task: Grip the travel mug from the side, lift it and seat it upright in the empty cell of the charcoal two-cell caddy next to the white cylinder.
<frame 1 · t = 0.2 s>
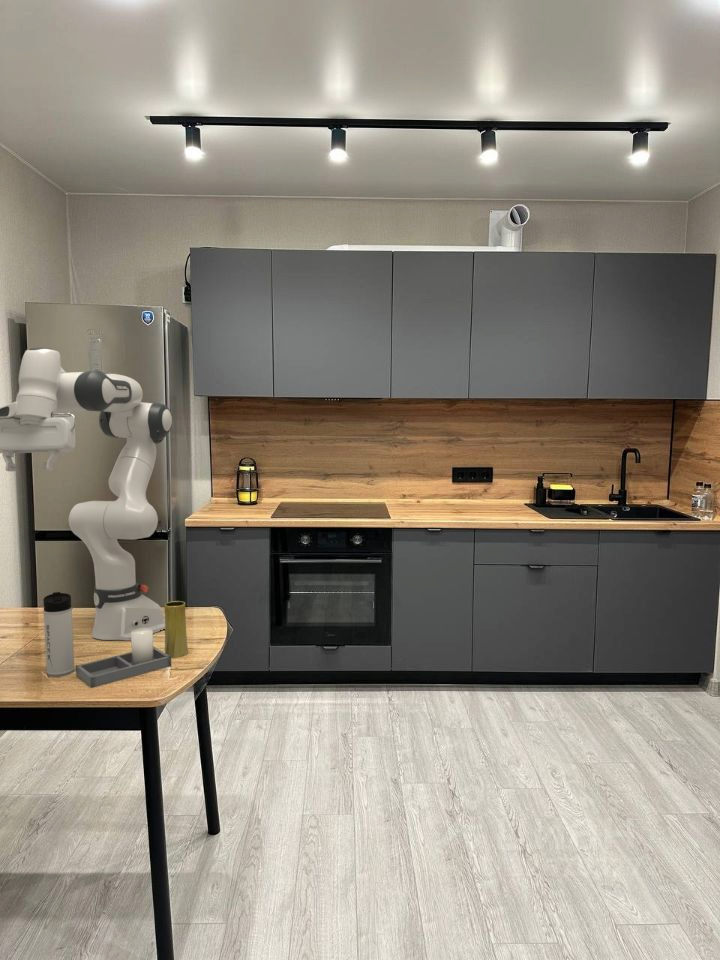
hand: (29, 470, 154), 51 cm above the table, tool tilted 15°, fingers open, 8 cm apart
white cylinder: (143, 665, 169), point 1 cm above the table, touching caddy
caddy: (124, 672, 166), on the table
vase: (176, 656, 177), on the table
travel mug: (60, 674, 165), on the table
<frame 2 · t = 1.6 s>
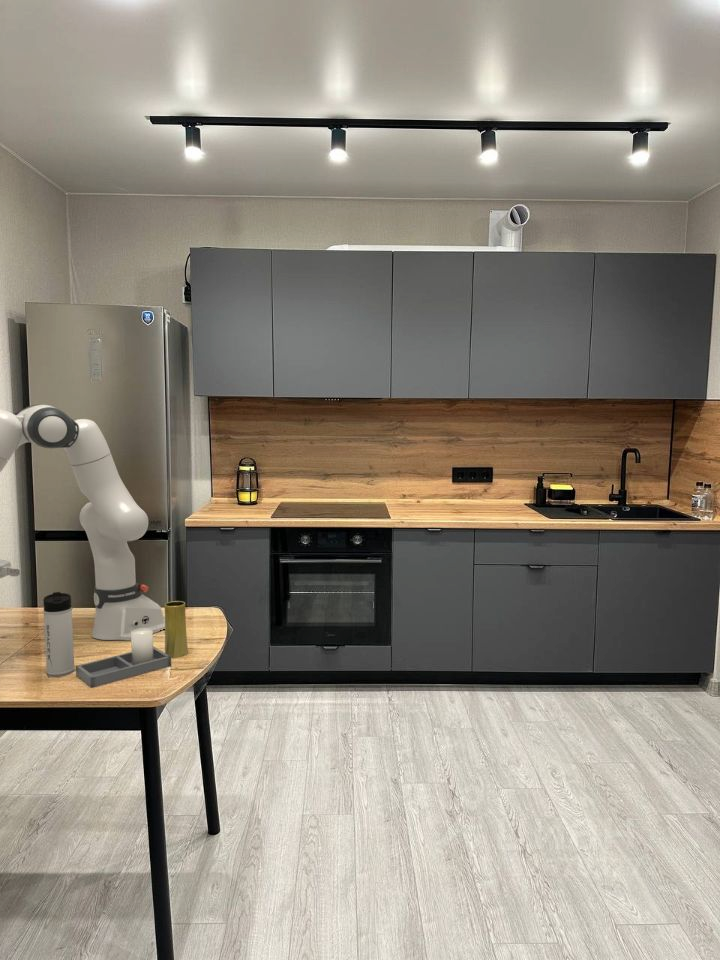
hand: (8, 576, 163), 25 cm above the table, tool horizontal, fingers open, 8 cm apart
nothing on the table moved.
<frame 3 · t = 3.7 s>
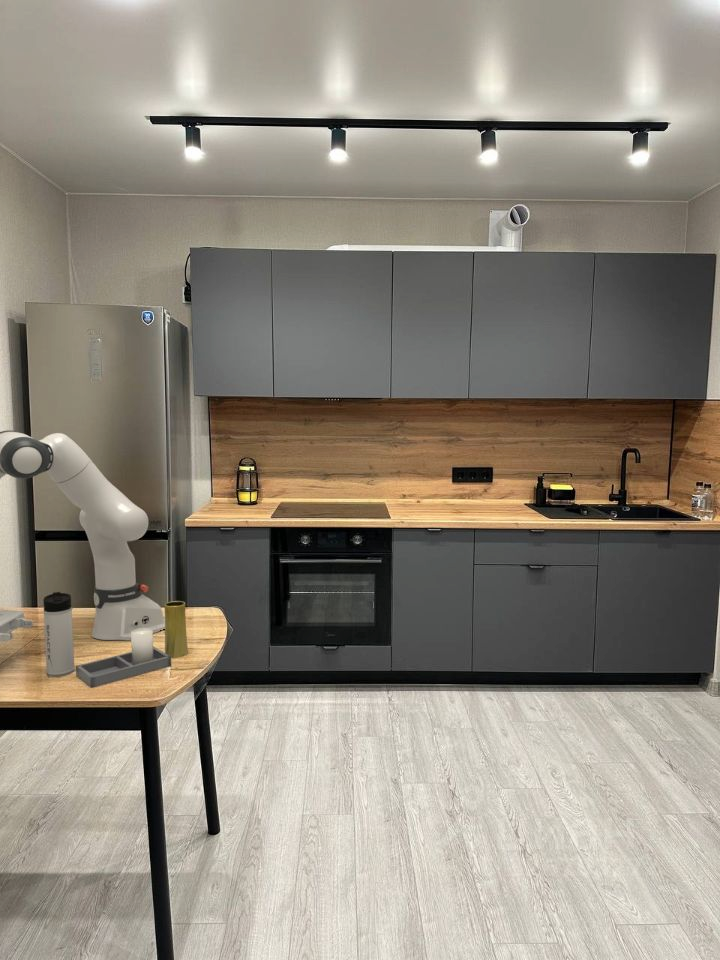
hand: (21, 630, 164), 11 cm above the table, tool horizontal, fingers open, 8 cm apart
nothing on the table moved.
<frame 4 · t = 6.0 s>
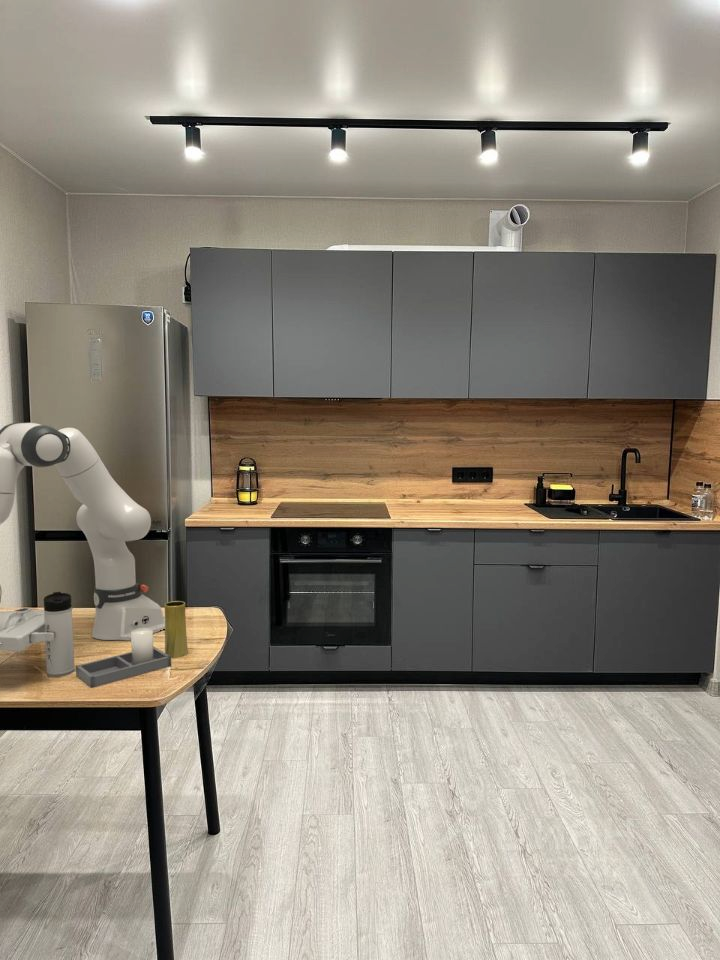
hand: (62, 630, 164), 11 cm above the table, tool horizontal, fingers closed on travel mug, 6 cm apart
travel mug: (60, 674, 165), on the table, touching gripper
everything else where it was.
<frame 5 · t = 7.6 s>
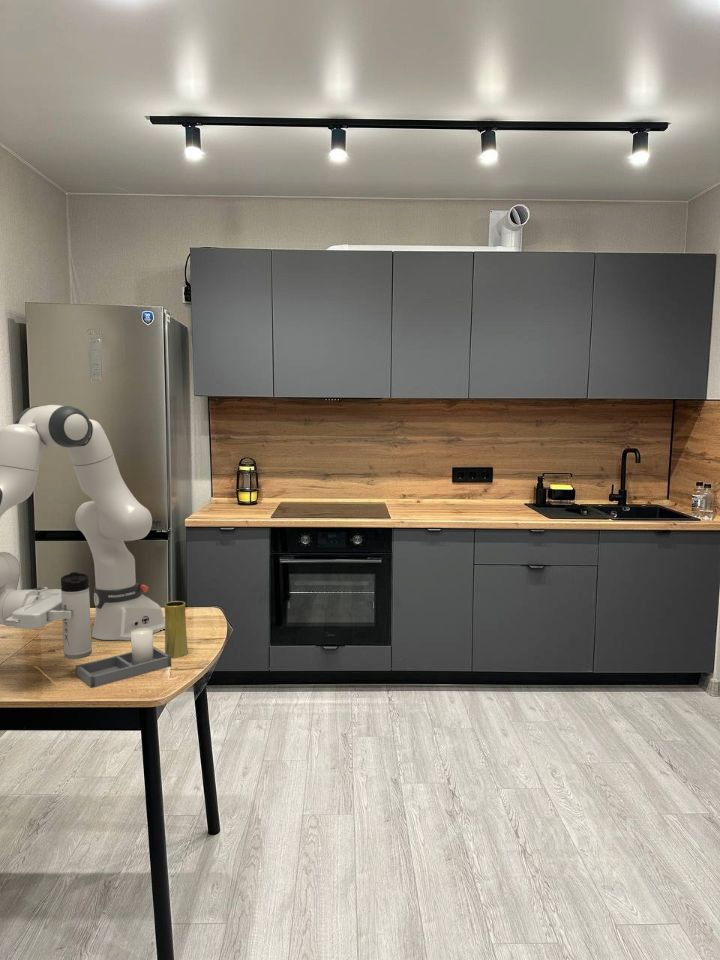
hand: (79, 609, 162), 17 cm above the table, tool horizontal, fingers closed on travel mug, 6 cm apart
travel mug: (78, 655, 164), point 5 cm above the table, touching gripper
everything else where it was.
when the fingers open (13 cm above the table, at t = 9.7 s): travel mug stays where it is, resting on caddy.
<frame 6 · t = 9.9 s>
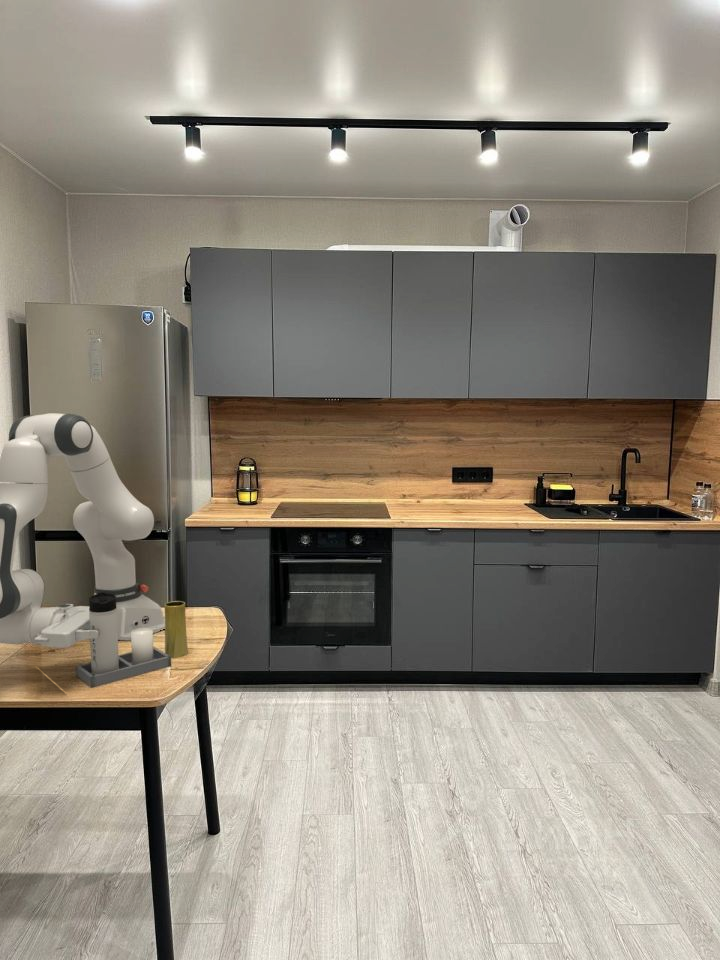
hand: (107, 627, 161), 13 cm above the table, tool horizontal, fingers open, 8 cm apart
travel mug: (105, 675, 163), resting on caddy
everything else where it was.
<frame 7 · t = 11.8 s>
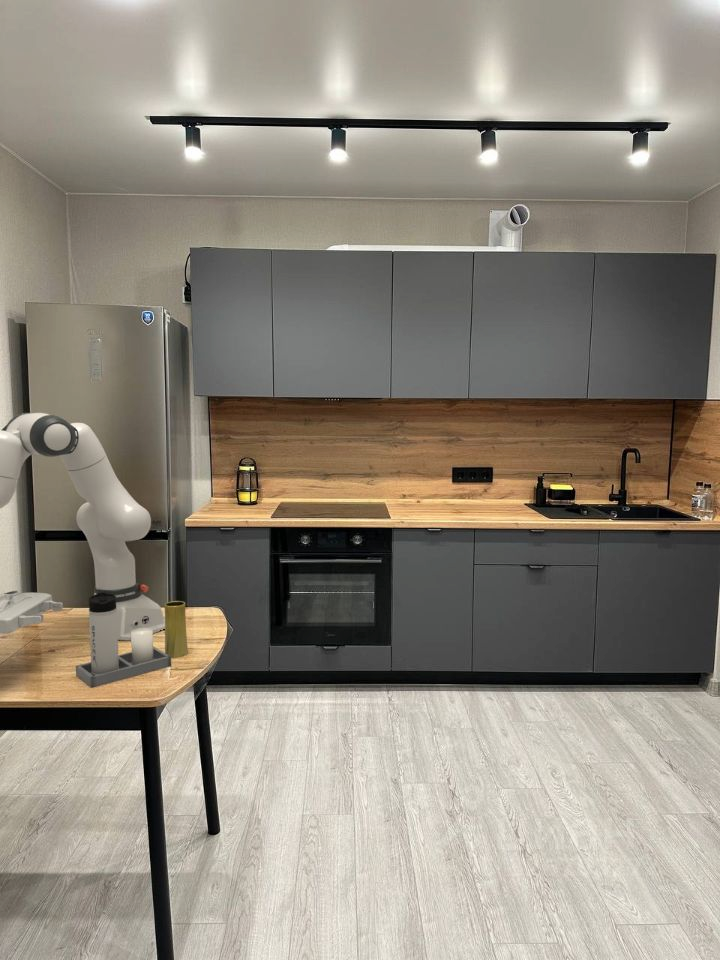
hand: (52, 612, 162), 16 cm above the table, tool horizontal, fingers open, 8 cm apart
nothing on the table moved.
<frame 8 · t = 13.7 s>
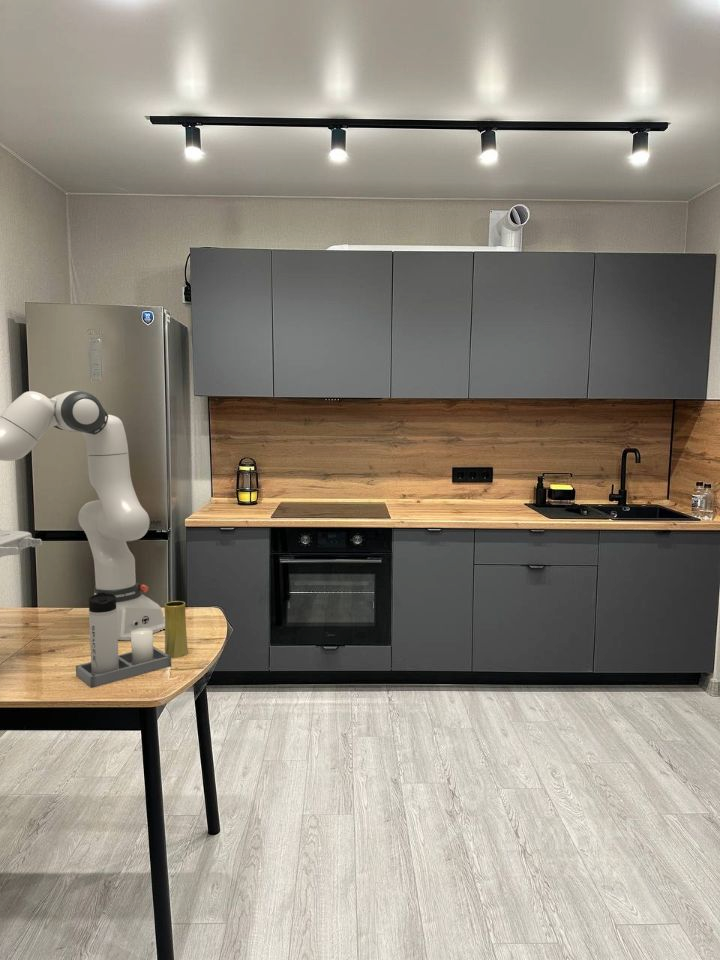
hand: (29, 546, 162), 32 cm above the table, tool horizontal, fingers open, 8 cm apart
nothing on the table moved.
at the end: travel mug 0.2 cm from the target spot on the caddy, point 0.4 cm above the caddy's base; travel mug tilted 0°; the gripper is holding nothing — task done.
